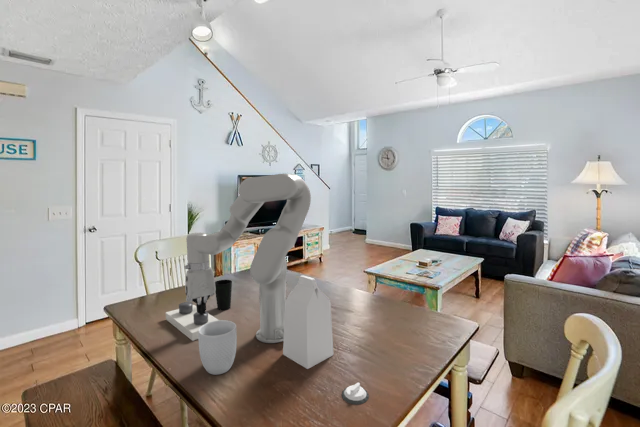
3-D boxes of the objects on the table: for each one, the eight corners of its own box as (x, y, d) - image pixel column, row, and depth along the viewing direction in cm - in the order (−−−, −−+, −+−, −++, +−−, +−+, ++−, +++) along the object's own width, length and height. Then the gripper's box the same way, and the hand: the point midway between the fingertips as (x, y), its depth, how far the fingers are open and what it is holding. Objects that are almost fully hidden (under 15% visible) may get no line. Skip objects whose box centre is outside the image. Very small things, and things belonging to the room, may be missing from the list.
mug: (207, 353, 109) (206, 315, 107) (241, 351, 110) (240, 314, 109) (195, 380, 94) (193, 337, 93) (234, 378, 95) (233, 335, 94)
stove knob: (336, 398, 87) (336, 388, 86) (350, 384, 92) (350, 375, 92) (360, 410, 82) (360, 399, 82) (374, 395, 88) (374, 384, 88)
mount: (223, 330, 126) (223, 322, 125) (192, 341, 117) (192, 332, 117) (194, 311, 144) (194, 304, 144) (165, 319, 136) (165, 312, 136)
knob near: (210, 329, 126) (210, 313, 125) (197, 333, 122) (197, 318, 122) (204, 324, 129) (204, 310, 129) (191, 329, 126) (191, 313, 125)
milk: (282, 354, 108) (281, 277, 106) (308, 342, 116) (308, 270, 114) (307, 369, 100) (306, 285, 97) (333, 354, 108) (333, 277, 105)
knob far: (195, 318, 136) (194, 304, 135) (182, 322, 132) (181, 307, 132) (189, 314, 139) (189, 300, 139) (177, 318, 136) (176, 304, 135)
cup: (235, 305, 151) (234, 279, 150) (229, 311, 144) (228, 285, 142) (219, 304, 152) (218, 279, 151) (212, 311, 144) (211, 284, 143)
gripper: (182, 271, 115) (186, 322, 117) (222, 263, 126) (224, 310, 128) (174, 268, 121) (177, 316, 123) (212, 260, 131) (215, 305, 133)
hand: (201, 313), depth 125 cm, fingers closed
